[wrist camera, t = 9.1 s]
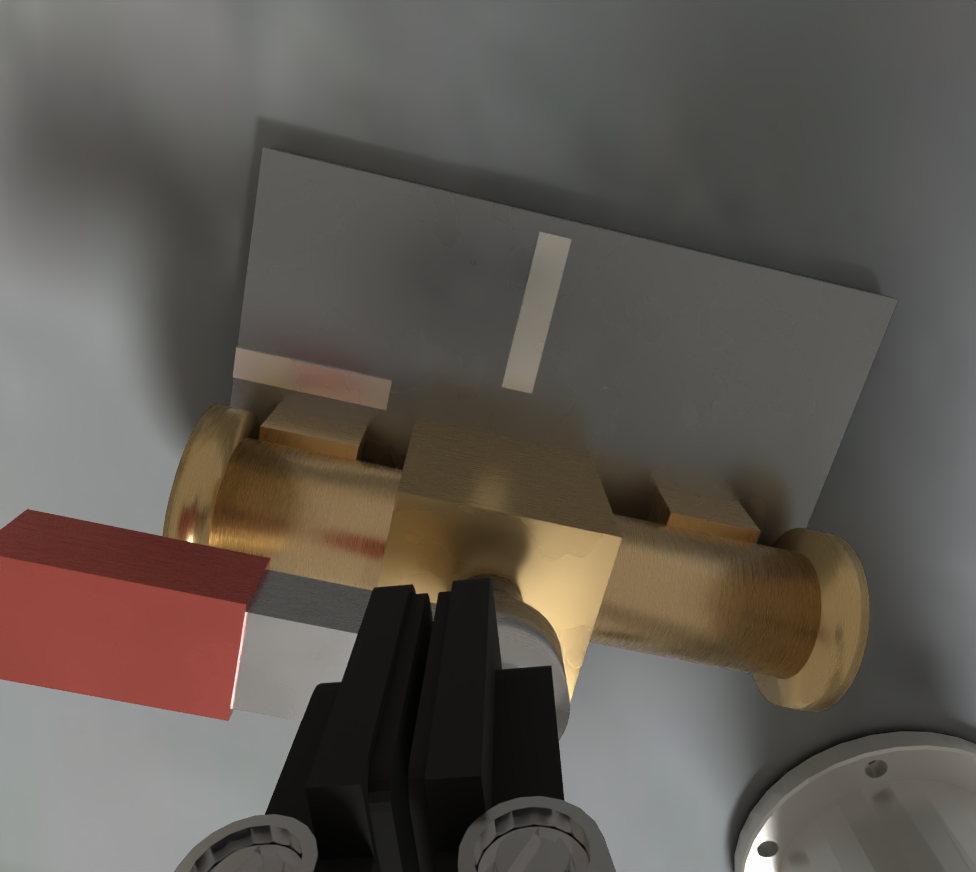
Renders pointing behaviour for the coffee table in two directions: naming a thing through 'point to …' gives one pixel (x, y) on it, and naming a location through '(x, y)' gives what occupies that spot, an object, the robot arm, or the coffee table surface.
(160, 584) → the lever
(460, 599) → the robot arm
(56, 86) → the coffee table surface
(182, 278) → the coffee table surface
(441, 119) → the coffee table surface
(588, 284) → the valve
